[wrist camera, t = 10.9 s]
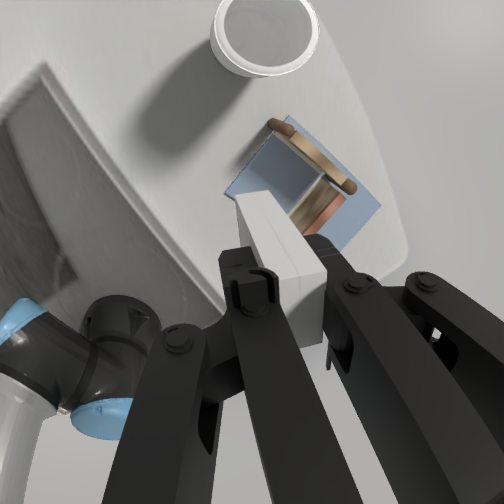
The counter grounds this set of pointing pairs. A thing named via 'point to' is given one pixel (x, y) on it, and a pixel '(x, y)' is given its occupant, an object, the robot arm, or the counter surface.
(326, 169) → the brown wall panel
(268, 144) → the card
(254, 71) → the jar
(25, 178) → the counter surface
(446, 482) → the robot arm
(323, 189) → the swing panel
